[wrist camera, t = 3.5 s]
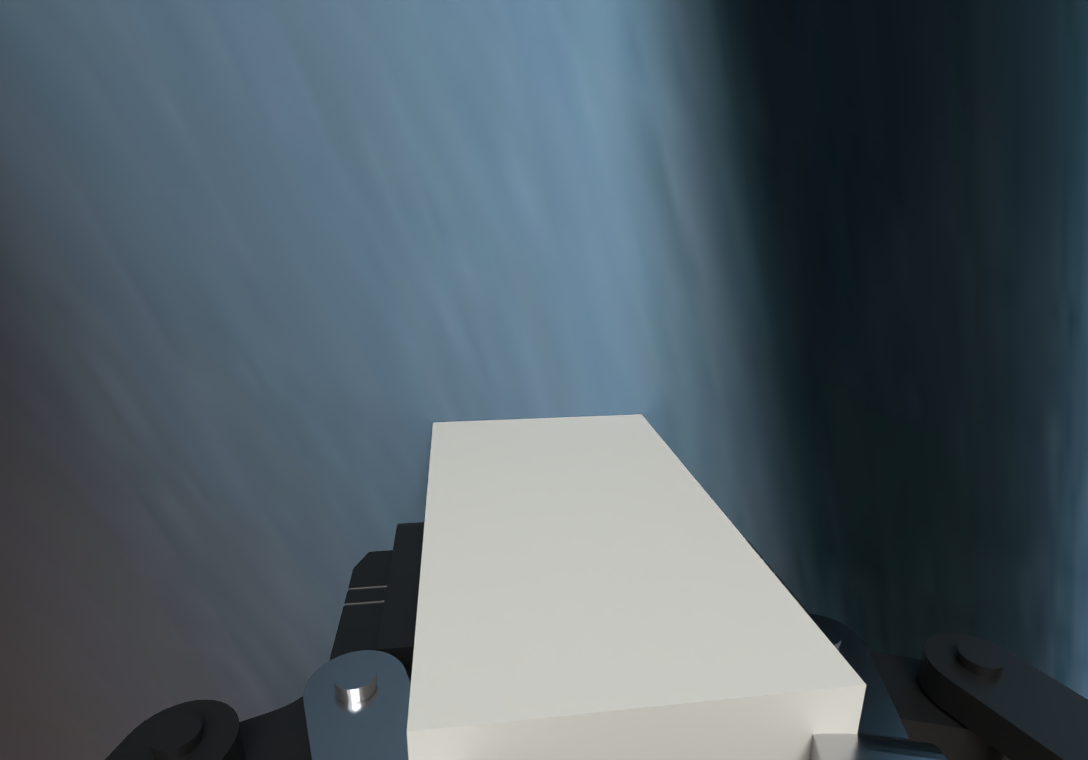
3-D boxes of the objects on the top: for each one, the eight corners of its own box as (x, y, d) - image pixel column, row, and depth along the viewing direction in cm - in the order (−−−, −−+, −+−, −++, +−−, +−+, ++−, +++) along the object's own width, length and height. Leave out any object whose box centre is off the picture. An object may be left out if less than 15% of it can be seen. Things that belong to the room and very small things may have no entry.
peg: (641, 414, 14) (866, 684, 6) (631, 591, 15) (808, 992, 8) (432, 422, 13) (406, 731, 6) (441, 606, 15) (428, 1056, 7)
